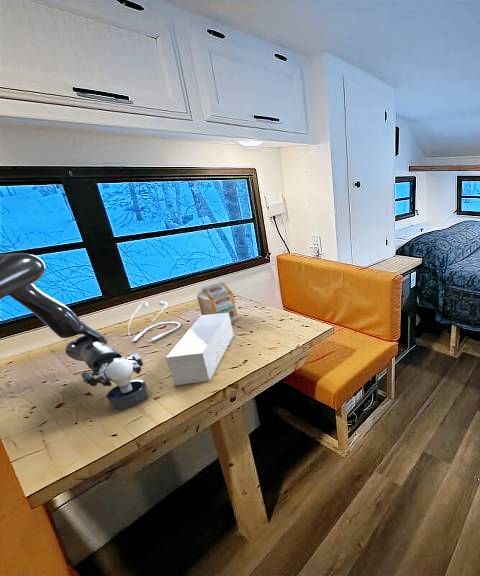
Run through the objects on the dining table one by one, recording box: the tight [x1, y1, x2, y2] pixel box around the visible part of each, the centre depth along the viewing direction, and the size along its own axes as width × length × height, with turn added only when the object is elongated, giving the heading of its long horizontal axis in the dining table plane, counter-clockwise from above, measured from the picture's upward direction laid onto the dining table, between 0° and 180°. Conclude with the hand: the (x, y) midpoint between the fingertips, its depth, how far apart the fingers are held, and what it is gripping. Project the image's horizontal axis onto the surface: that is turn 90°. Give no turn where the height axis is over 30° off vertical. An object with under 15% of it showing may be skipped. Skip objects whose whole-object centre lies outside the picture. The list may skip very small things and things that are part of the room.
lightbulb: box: [105, 359, 134, 393], centre depth 91 cm, size 6×6×11 cm
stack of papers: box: [165, 313, 235, 386], centre depth 113 cm, size 32×11×11 cm, turn 12°
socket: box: [106, 379, 150, 412], centre depth 93 cm, size 9×9×4 cm
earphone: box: [127, 300, 181, 343], centre depth 134 cm, size 14×17×18 cm
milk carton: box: [196, 280, 239, 324], centre depth 140 cm, size 11×11×19 cm
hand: (124, 376), depth 89 cm, fingers closed on lightbulb, 6 cm apart
